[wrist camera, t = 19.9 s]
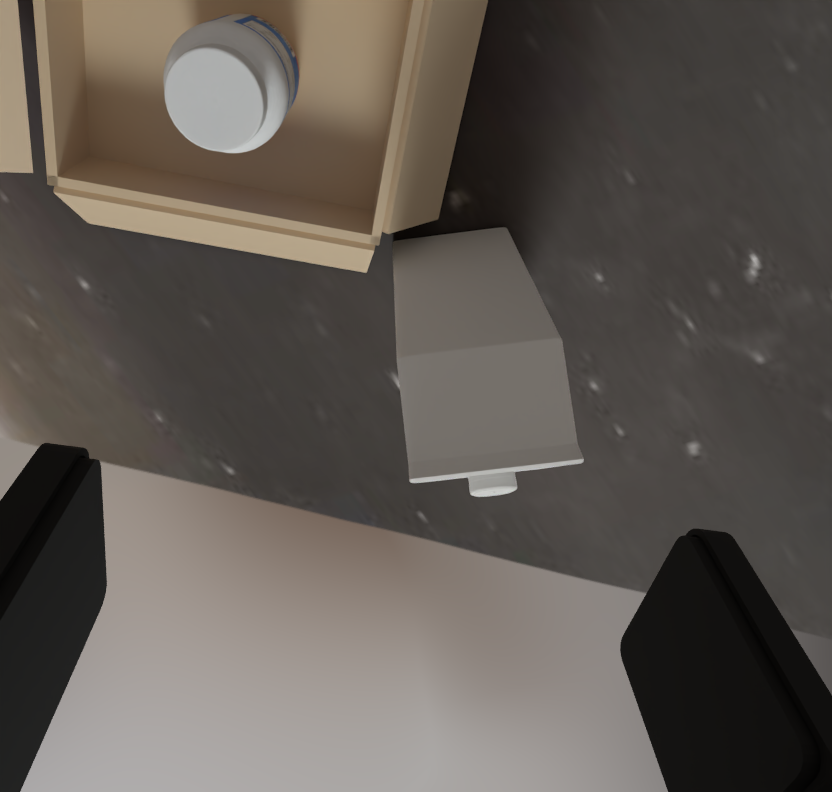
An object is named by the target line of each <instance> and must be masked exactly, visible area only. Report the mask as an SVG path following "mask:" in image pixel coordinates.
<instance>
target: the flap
mask: <svg viewBox="0 0 832 792" xmlns="http://www.w3.org/2000/svg"><path fill="white" fill-rule="evenodd" d="M0 172H17V173H33V166H32V155H31V144H30V133H29V122H28V111H27V100H26V89H25V78H24V67H23V56H22V45H21V34H20V23H19V12H18V1H17V0H0Z"/></svg>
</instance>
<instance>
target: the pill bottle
mask: <svg viewBox="0 0 832 792" xmlns="http://www.w3.org/2000/svg"><path fill="white" fill-rule="evenodd" d="M163 81H164V96H165V103H166V107H167V110H168V113H169V115H170V117H171V119H172V121H173V123H174V124H175V126H176V127H177V128H178V130H179V131H180V132H181V133H182V134H183V135H184V136H185V137H186V138H187V139H188V140H190V141H191V142H193V143H194V144H196V145H197V146H200V147H202V148H205V149H208V150H212V151H219V152H225V153H242V152H247V151H251V150H254V149H256V148H258V147H260V146H261V145H263V144H264V143H266V142H267V141H268V140H269V139H270V138H271V137H272V136H273V135H274V134H275V133H276V131H277V130H278V129H279V127H280V126H281V124H282V122H283V120H284V119H285V117H286V115H287V113H288V111H289V109H290V108H291V106H292V104H293V103H294V100H295V98H296V95H297V92H298V87H299V66H298V61H297V58H296V55H295V52H294V50H293V48H292V46H291V44H290V43H289V41H288V40H287V38H286V37H285V36H284V34H283V33H282V32H281V31H280V30H279V29H278V28H277V27H275V26H274V25H273V24H271V23H270V22H268V21H266V20H265V19H263V18H260V17H258V16H255V15H251V14H241V13H239V14H231V15H226V16H223V17H220V18H217V19H214V20H211V21H208V22H204V23H201V24H198V25H196V26H194V27H192V28H190V29H189V30H187V31H186V32H185V33H183V34H182V35H181V36H180V37H179V38H178V39H177V40H176V42H175V43H174V44H173V46H172V48H171V49H170V51H169V53H168V56H167V59H166V62H165V67H164V75H163Z"/></svg>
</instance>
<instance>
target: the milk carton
mask: <svg viewBox="0 0 832 792" xmlns="http://www.w3.org/2000/svg"><path fill="white" fill-rule="evenodd" d="M392 247H393V273H394V298H395V324H396V350H397V367H398V376H399V385H400V393H401V402H402V411H403V420H404V429H405V438H406V447H407V456H408V465H409V480H410V482H411V483H420V482H430V481H439V480H448V479H457V478H465V477H468V480H469V490H470V494H471V495H472V496H477V497H485V496H495V495H502V494H507V493H510V492H513V491H515V490H516V489H517V482H516V478H515V472H517V471H525V470H534V469H543V468H550V467H557V466H563V465H572V464H580V463H582V462H584V458H583V456H582V453H581V451H580V449H579V446H578V443H577V436H576V430H575V423H574V416H573V410H572V403H571V396H570V390H569V383H568V376H567V370H566V363H565V356H564V350H563V343H562V339H561V338H560V335H559V333H558V331H557V329H556V327H555V325H554V323H553V321H552V319H551V317H550V315H549V313H548V311H547V309H546V307H545V305H544V303H543V301H542V299H541V297H540V295H539V293H538V291H537V288H536V286H535V284H534V282H533V280H532V278H531V276H530V274H529V272H528V270H527V268H526V266H525V264H524V262H523V260H522V258H521V256H520V254H519V252H518V250H517V248H516V246H515V244H514V241H513V239H512V237H511V235H510V233H509V231H508V229H507V228H505V227H500V228H491V229H483V230H475V231H467V232H459V233H451V234H443V235H435V236H427V237H419V238H411V239H404V240H397V241H394V242H393V245H392Z"/></svg>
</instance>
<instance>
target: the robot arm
mask: <svg viewBox="0 0 832 792" xmlns="http://www.w3.org/2000/svg"><path fill="white" fill-rule="evenodd" d="M106 586H107V580H106V560H105V539H104V519H103V500H102V479H101V465H100V461H99V460H96V459H89V453H88V451H87V449H85V448H80V447H73V446H65V445H58V444H50V443H44V444H42V445H41V446H40V447H39V448H38V449H37V451H36V452H35V454H34V455H33V456H32V458H31V459H30V460H29V462H28V463H27V465H26V466H25V468H24V469H23V470H22V472H21V473H20V474H19V476H18V477H17V478H16V480H15V481H14V483H13V484H12V486H11V487H10V488H9V490H8V491H7V492H6V494H5V495H4V497H3V498H2V499H1V501H0V792H20V791H21V788H22V786H23V784H24V781H25V779H26V777H27V775H28V772H29V770H30V768H31V766H32V763H33V761H34V759H35V757H36V754H37V752H38V750H39V748H40V745H41V743H42V741H43V738H44V736H45V734H46V732H47V729H48V727H49V725H50V723H51V720H52V718H53V716H54V714H55V711H56V709H57V707H58V705H59V702H60V700H61V698H62V695H63V693H64V691H65V689H66V686H67V684H68V682H69V680H70V677H71V675H72V672H73V671H74V668H75V666H76V664H77V661H78V659H79V657H80V654H81V652H82V650H83V648H84V646H85V643H86V641H87V639H88V637H89V634H90V632H91V630H92V627H93V625H94V623H95V621H96V618H97V616H98V614H99V612H100V609H101V607H102V604H103V601H104V598H105V593H106ZM620 651H621V657H622V661H623V664H624V667H625V670H626V672H627V675H628V678H629V681H630V684H631V687H632V690H633V692H634V695H635V698H636V701H637V704H638V707H639V710H640V712H641V715H642V718H643V721H644V724H645V727H646V730H647V732H648V735H649V738H650V741H651V744H652V747H653V750H654V752H655V755H656V758H657V761H658V764H659V767H660V769H661V772H662V775H663V778H664V781H665V784H666V787H667V789H668V792H832V695H831V693H830V692H829V690H828V688H827V687H826V685H825V684H824V682H823V681H822V679H821V677H820V676H819V674H818V673H817V671H816V669H815V668H814V666H813V664H812V663H811V661H810V660H809V658H808V656H807V655H806V653H805V652H804V650H803V648H802V647H801V645H800V644H799V642H798V640H797V639H796V637H795V636H794V634H793V632H792V631H791V629H790V628H789V626H788V624H787V623H786V621H785V619H784V618H783V616H782V615H781V613H780V611H779V610H778V608H777V607H776V605H775V603H774V602H773V600H772V599H771V597H770V595H769V594H768V592H767V591H766V589H765V587H764V586H763V584H762V583H761V581H760V579H759V578H758V576H757V575H756V573H755V571H754V570H753V568H752V567H751V565H750V563H749V562H748V560H747V558H746V557H745V555H744V554H743V552H742V550H741V549H740V547H739V546H738V544H737V542H736V541H735V539H734V538H733V537H732V536H731V535H730V534H728V533H726V532H719V531H711V530H703V529H692V530H690V531H689V532H688V533H687V534H686V535H685V536H681V537H679V538H678V539H677V541H676V542H675V544H674V546H673V547H672V549H671V551H670V553H669V555H668V556H667V558H666V560H665V562H664V563H663V565H662V567H661V569H660V571H659V572H658V574H657V576H656V578H655V580H654V581H653V583H652V585H651V587H650V588H649V590H648V592H647V594H646V596H645V597H644V599H643V601H642V603H641V605H640V606H639V608H638V610H637V612H636V614H635V615H634V617H633V619H632V621H631V622H630V624H629V626H628V628H627V630H626V631H625V633H624V635H623V637H622V640H621V649H620Z"/></svg>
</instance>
